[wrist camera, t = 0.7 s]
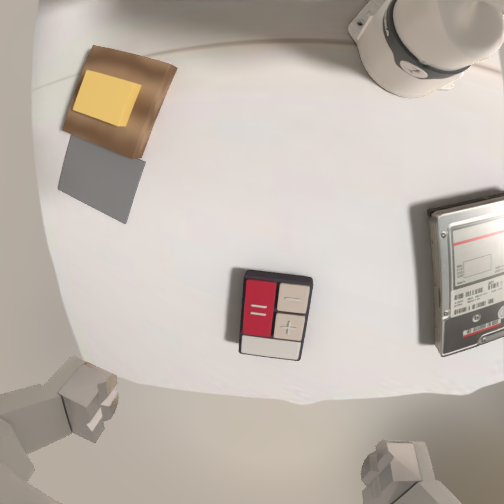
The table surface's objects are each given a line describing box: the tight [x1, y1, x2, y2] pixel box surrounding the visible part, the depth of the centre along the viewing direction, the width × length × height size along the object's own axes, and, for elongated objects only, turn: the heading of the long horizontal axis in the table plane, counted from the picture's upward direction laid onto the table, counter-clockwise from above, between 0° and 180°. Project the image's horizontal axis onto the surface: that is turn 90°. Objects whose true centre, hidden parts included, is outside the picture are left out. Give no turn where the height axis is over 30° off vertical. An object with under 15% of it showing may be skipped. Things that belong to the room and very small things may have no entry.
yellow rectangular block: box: [73, 70, 142, 127], centre depth 43 cm, size 7×10×2 cm
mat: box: [58, 134, 146, 224], centre depth 52 cm, size 12×17×1 cm
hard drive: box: [427, 193, 504, 357], centre depth 46 cm, size 18×27×4 cm
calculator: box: [239, 270, 313, 361], centre depth 54 cm, size 11×4×15 cm
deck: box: [63, 45, 177, 159], centre depth 45 cm, size 16×16×4 cm
